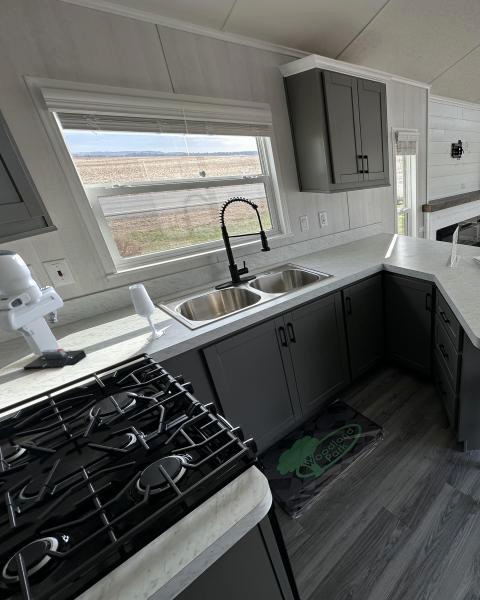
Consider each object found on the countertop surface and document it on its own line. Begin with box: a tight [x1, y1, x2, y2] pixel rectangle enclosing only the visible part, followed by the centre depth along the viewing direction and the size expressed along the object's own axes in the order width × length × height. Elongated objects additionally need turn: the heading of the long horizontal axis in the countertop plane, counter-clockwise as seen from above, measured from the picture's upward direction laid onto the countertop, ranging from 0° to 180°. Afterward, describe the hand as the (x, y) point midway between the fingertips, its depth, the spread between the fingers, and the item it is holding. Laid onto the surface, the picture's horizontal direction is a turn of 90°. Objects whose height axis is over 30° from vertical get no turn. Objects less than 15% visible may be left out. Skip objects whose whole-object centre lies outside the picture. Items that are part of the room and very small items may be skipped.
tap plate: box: [22, 349, 87, 371], centre depth 127 cm, size 14×11×3 cm
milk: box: [20, 316, 62, 357], centre depth 131 cm, size 6×6×22 cm
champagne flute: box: [128, 283, 164, 340], centre depth 141 cm, size 7×7×24 cm
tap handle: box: [42, 348, 68, 360], centre depth 126 cm, size 7×2×4 cm, turn 92°
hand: (42, 328), depth 122 cm, fingers open, 8 cm apart
